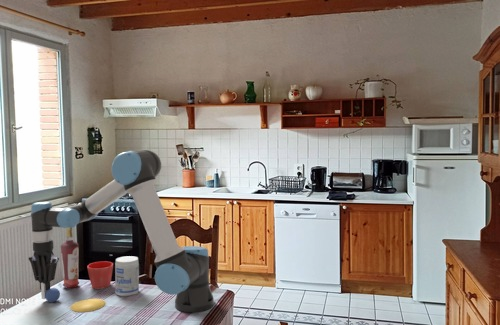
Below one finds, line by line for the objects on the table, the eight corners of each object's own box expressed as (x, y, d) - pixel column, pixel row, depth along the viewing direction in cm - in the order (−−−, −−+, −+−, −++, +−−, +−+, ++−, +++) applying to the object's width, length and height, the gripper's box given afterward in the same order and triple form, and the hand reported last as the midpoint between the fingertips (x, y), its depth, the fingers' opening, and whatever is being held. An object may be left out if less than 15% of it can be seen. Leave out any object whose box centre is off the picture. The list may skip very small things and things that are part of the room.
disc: (107, 308, 170) (107, 307, 170) (71, 314, 165) (71, 314, 164) (103, 297, 182) (103, 296, 182) (69, 302, 176) (69, 302, 176)
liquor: (72, 290, 190) (70, 226, 188) (58, 288, 192) (56, 225, 190) (83, 284, 197) (81, 223, 195) (70, 283, 199) (67, 222, 197)
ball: (60, 303, 176) (60, 289, 176) (45, 305, 174) (45, 291, 173) (59, 298, 181) (59, 285, 181) (45, 300, 179) (45, 287, 178)
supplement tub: (114, 297, 181) (113, 262, 180) (117, 289, 191) (116, 256, 190) (138, 296, 183) (137, 261, 182) (140, 288, 192) (139, 255, 191)
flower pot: (106, 291, 189) (105, 268, 188) (83, 289, 191) (82, 267, 191) (118, 282, 199) (117, 261, 199) (96, 281, 202) (95, 260, 201)
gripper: (62, 239, 179) (65, 295, 180) (36, 237, 182) (38, 293, 184) (50, 243, 172) (52, 302, 173) (22, 241, 175) (25, 299, 176)
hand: (45, 297), depth 178 cm, fingers closed
